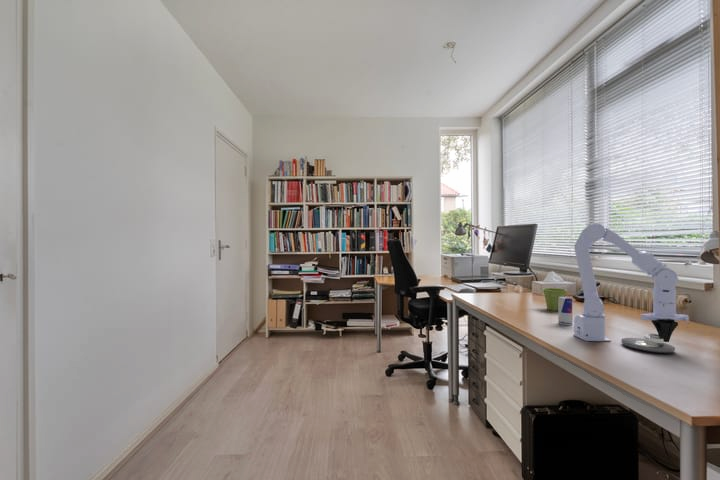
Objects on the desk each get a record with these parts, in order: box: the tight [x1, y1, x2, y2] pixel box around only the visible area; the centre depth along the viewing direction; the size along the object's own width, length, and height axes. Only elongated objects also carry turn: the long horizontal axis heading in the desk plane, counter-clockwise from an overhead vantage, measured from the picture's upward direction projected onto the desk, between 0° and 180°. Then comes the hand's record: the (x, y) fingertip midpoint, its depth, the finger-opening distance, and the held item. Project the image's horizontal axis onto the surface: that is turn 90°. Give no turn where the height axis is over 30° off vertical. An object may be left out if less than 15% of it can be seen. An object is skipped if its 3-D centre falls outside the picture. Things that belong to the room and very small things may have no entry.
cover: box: [643, 333, 665, 346], centre depth 113 cm, size 5×5×3 cm
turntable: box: [620, 337, 676, 354], centre depth 113 cm, size 14×14×2 cm
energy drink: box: [557, 296, 573, 326], centre depth 147 cm, size 5×5×12 cm
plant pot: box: [542, 287, 568, 312], centre depth 177 cm, size 12×12×11 cm
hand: (664, 341), depth 113 cm, fingers closed
